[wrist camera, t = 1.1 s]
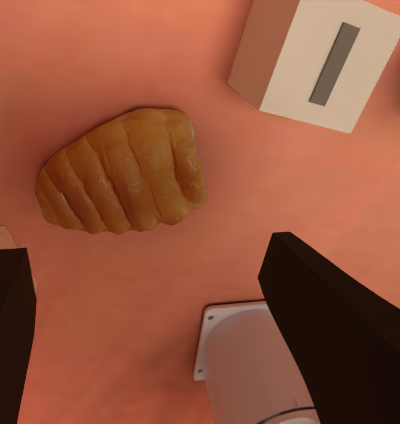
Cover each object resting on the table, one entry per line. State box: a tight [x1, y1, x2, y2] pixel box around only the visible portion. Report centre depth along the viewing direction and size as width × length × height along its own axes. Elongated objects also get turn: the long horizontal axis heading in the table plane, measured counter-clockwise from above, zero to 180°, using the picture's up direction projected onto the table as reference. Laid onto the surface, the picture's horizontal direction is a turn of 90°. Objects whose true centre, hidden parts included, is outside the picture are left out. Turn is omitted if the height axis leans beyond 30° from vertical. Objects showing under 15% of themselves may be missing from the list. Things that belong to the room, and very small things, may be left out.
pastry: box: [35, 108, 208, 234], centre depth 19 cm, size 9×7×4 cm
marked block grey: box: [227, 0, 400, 134], centre depth 17 cm, size 5×5×5 cm
